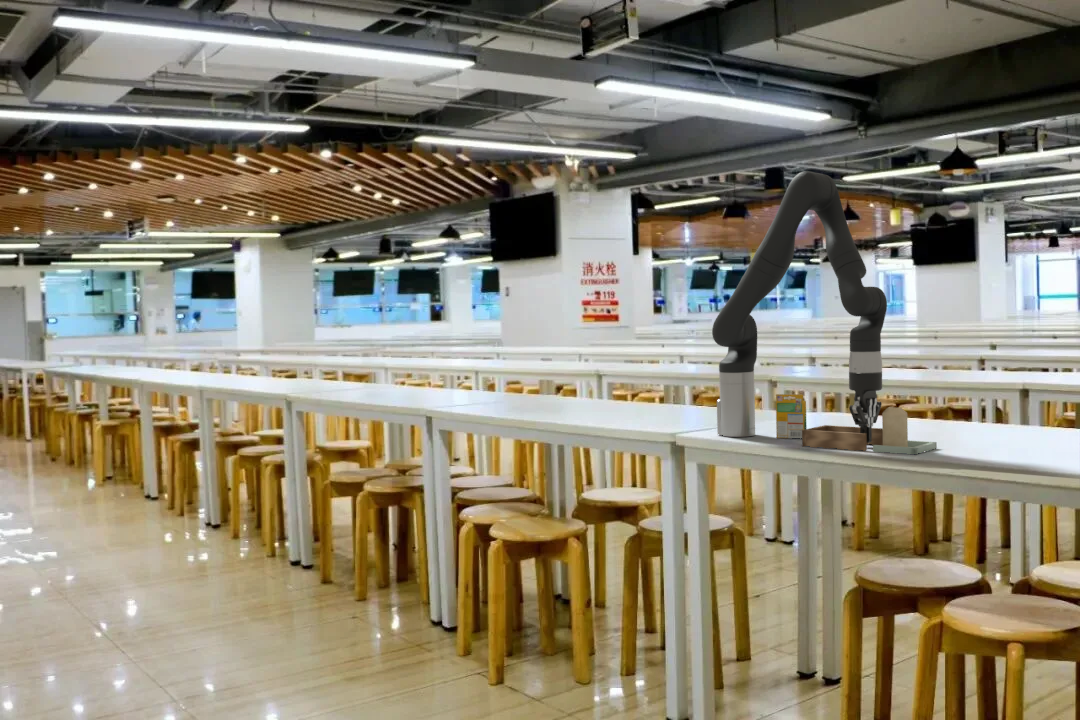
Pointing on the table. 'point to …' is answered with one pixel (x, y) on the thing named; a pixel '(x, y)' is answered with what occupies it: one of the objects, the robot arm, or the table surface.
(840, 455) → the table surface
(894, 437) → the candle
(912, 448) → the mint green u-bracket
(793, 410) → the crayon box
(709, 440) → the table surface
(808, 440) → the cubby
